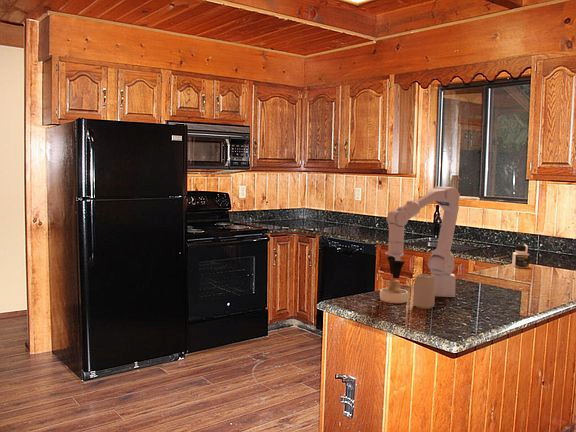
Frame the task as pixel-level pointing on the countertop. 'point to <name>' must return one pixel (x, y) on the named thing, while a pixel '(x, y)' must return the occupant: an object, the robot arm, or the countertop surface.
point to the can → (424, 291)
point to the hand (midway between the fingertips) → (394, 276)
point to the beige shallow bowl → (394, 296)
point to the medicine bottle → (521, 256)
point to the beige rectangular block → (393, 286)
